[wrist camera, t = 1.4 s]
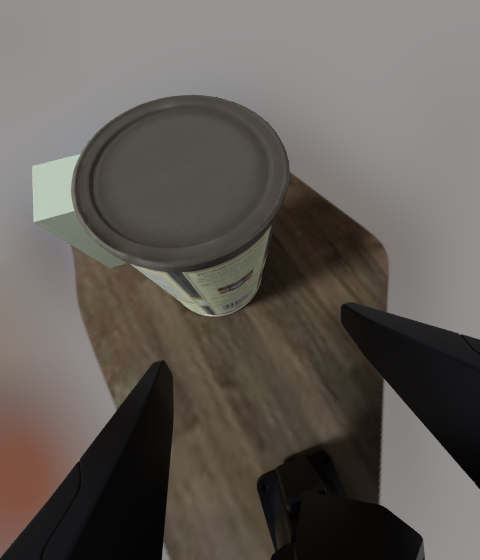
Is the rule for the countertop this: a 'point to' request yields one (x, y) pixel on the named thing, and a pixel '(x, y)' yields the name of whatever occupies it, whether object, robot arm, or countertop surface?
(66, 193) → the tea tin
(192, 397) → the countertop surface
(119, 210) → the coffee can
